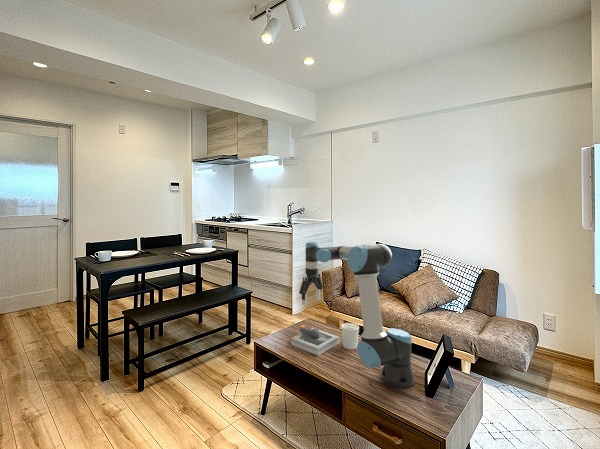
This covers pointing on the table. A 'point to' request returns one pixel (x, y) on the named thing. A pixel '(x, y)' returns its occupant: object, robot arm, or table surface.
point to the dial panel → (312, 348)
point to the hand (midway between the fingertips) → (311, 302)
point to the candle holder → (350, 335)
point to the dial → (312, 335)
